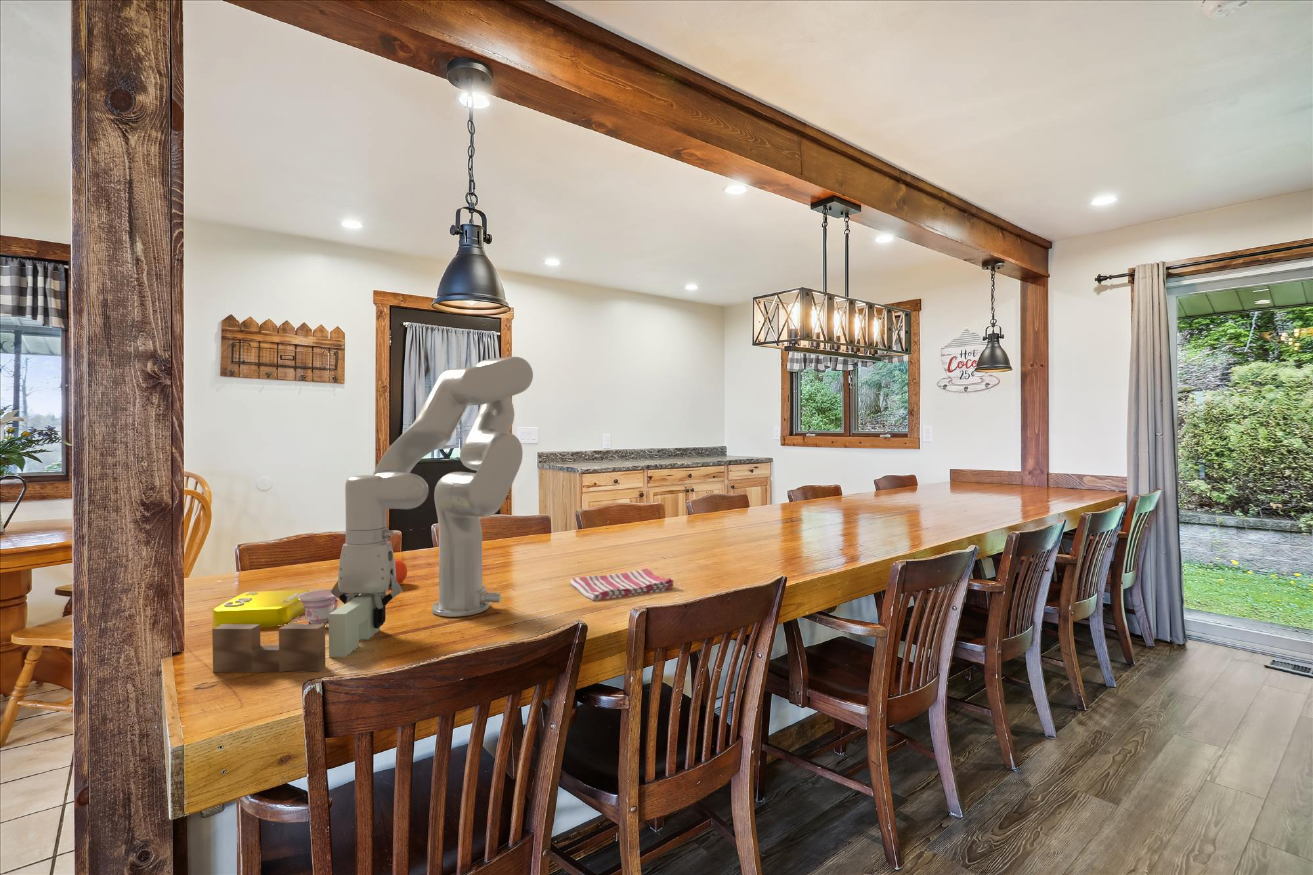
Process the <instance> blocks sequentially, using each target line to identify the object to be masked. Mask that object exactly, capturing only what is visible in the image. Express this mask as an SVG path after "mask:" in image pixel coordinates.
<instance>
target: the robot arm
mask: <svg viewBox="0 0 1313 875" xmlns="http://www.w3.org/2000/svg"><path fill="white" fill-rule="evenodd" d="M533 372H534V371H533V369H532V366H531V364H530V363H529V362H528V360H526V359H524V358H522V357H519V356H506V357H497V358H495V357H493V358H488V359H484V360H481V361H479V362H478V363H476V365H475V366H470V367H469V366H467V367H459V368H457V367H456V368H450V369H447V370H445V371H443V372H442V373H441V374H440V375H439V376H438V378H437V379H436V381H435V383H434V385H433V386H432V389H431V390H430V392H429V394H428V396H427V398H426V400H425V402H424V404H423V405H422V406H421V407H422V408H421V409H420V411H419V413H418V415H417V416H416V418H415V420H414V422H413V423H412V424H411V426H409V427H408V428H406V430H404V432H402V434H401V435H400V436H399V437H397V439H396V440H395V441H394V442H393V443H392V444H391V445H390V446H389V447H388V449H386V451H385V453H384V454H383V455H382V457H381V458H380V460H379V462H378V464H377V465H376V467H375V469H374V471H373V473H372V474H371V475H370V474H365V475H363V474H361V475H353V476H351V477H349V478H348V479H347V480H346V482H345V487H344V488H345V490H344V491H345V494H344V495H345V496H344V497H345V498H344V499H345V543H343V544H342V547H341V552H340V556H339V563H338V564H339V565H338V574H337V576H338V577H337V578H338V579H337V581H336V582H335V584H334V586H333V587H332V589H330V590H331V594H333V595H334V596H336V597H337V598H336V599H339V600H340V601H341V602H342V603H343V605H344V604H346V603H348V602H349V601H351V600H353V599H354V598H356V597H358V596H359V595H361V594H374V597H375V601H376V608H375V609H374V628H379V627H380V628H381V627H382V626H383V625H384V623H385V622H386V618H387V617H386V614H387V613H386V609H387V608H386V606H387V605H388V604H389V603H390V602H391V601H392V599H394V598H395V597H397V596H398V595H401V593H403V588H402V586H401V585H400V584H399V583H398V582H397V581H396V570H395V560H394V559H395V555H394V550H393V545H392V541H389V540H388V539H389V538H390V539H391V538H393V537H394V531H393V530H388V526H387V510H388V509H390V510H393V509H394V510H395V509H396V510H399V509H400V510H411V509H415V508H418V507H419V506H421V505H422V504H423V503H425V501H426V499H427V498H428V496H429V491H430V490H429V485H428V483H427V482H426V479H424V478H423V477H422V476H420V475H418V474H416V473H412V472H411V471H412V470H413V468H415V466H416V465H417V463H419V462H420V461H421V460H422V459H423V458H424V457H425V456H427V455H429V454H431V453H432V452H434V451H436V450H438V449H441V448H442V447H443V446H445V445H447V444H448V443H449V442H450V441H451V439H452V438H453V436H454V434H455V432H456V430H457V428H458V425H459V423H460V421H461V420H462V418H463V417H464V414H465V413H466V410H467V409H468V406H479V408H478V409H479V410H478V412H477V414H476V417H475V420H474V422H473V424H472V426H471V427H470V429H469V431H468V434H467V435H466V438H465V439H464V441H463V443H462V445H461V448H460V453H459V458H460V459H459V460H460V462H461V463H462V465H463V466H465V467H466V468H467V469H470V470H472V471H476V472H470V471H469V472H466V471H452V472H449V473H447V474H445V475H443V476H442V477H441V478H440V479H438V481H437V482H436V485H435V487H434V491H433V492H434V493H433V494H434V496H433V497H434V504H435V510H436V516H437V524H438V590H439V591H438V594H439V595H438V601H436V602H435V603H433V605H431V612H432V613H433V614H434V615H436V616H440V617H449V618H451V617H452V618H453V617H456V618H457V617H466V616H472V615H473V616H474V615H477V614H480V613H483V612H485V611H487V610H488V609H489V607H490V603H496V604H497V603H501V600H502V594H501V593H498V592H497V591H496V592H495V591H494V592H493V591H491V592H489V591H487V588H486V586H484V585H483V528H482V524H481V519H480V518H487V517H491V516H493V515H494V514H496V513H498V511H499V510H500V509H501V508H502V506H503V504H504V502H505V501H506V498H507V496H508V494H509V492H510V490H511V488H512V485H513V483H514V481H515V479H516V477H517V475H518V472H519V469H520V467H521V464H522V463H523V462H522V461H523V453H524V451H523V446H522V443H521V441H520V440H519V438H518V437H517V436H516V435H514V434H513V433H511V432H510V431H511V429H512V426H513V424H514V420H515V408H514V404H513V402H512V398H511V397H513V396H516V395H519V394H521V393H523V392H525V391H526V390H527V389H528V388H529V387H530V386H531V384H532V382H533V379H534V373H533ZM389 589H391V592H389V593H387V592H388V591H389Z"/></svg>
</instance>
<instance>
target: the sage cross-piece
mask: <svg viewBox="0 0 1313 875" xmlns="http://www.w3.org/2000/svg"><path fill="white" fill-rule="evenodd" d="M375 608H376V601H375V597H374V594H359V596H358V597H356V598H354V599H353V600H351V601H349V602H348V603H346V604H344V603H343V605H341V606H340V607H337V608H336V610H334V611H333V612H331V613H330V614H329V620H328V623H329V628H328V658H347V657H348V656H349V655H350V654H352V653H353V652H354V651H356V650H357V649H358V648H359V647H360V640H370V639H371V638H372V637H374V636H375V635H376V634H377V633H379V632H380V631H381V626H380V627H379V628H374V609H375ZM375 633H376V634H375ZM374 634H375V635H374ZM370 637H371V638H370ZM358 646H359V647H358ZM356 648H357V649H356ZM353 650H354V651H353ZM352 651H353V652H352ZM351 652H352V653H351ZM348 654H349V655H348ZM347 655H348V656H347ZM346 656H347V657H346Z"/></svg>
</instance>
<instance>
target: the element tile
mask: <svg viewBox="0 0 1313 875" xmlns="http://www.w3.org/2000/svg"><path fill="white" fill-rule="evenodd" d="M308 591H310V590H309V589H294V590H292V589H291V590H263V591H262V590H261V591H257V590H256V591H246V592H245V591H244V592H243V593H241V594H239V595H237V596H235V597H233V598H230V599H229V600H227V601H226V602H223V603H222V604H220V605H218V606H216V607H215V608H213V609H212V629H213V628H215V627H217V626H220V625H222V624H260V628H273V627H272V626H278V625H284V624H288V623H289V622H290V621H292V620H293V619H295V618H297V617H298V616H299V617H300V615H301V614H302V615H304V614H305V613H304V612H305V608H304V607H303V603H302V602H300V601H299V598H298V595H299V594H301V593H304V592H308ZM303 613H304V614H303ZM302 615H301V616H302Z"/></svg>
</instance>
